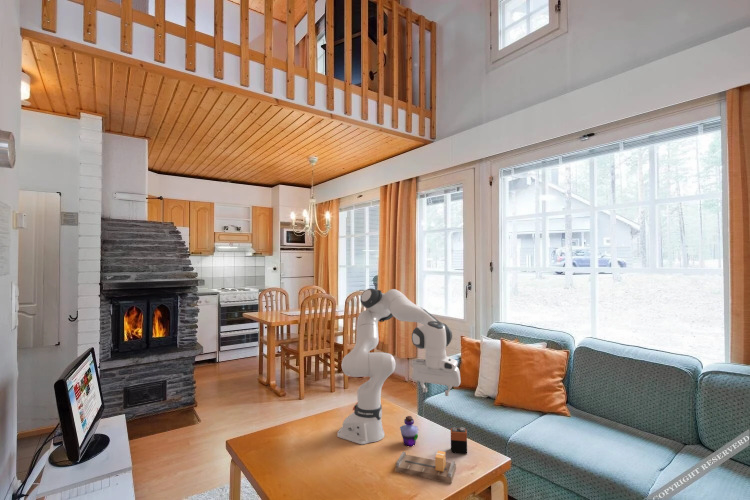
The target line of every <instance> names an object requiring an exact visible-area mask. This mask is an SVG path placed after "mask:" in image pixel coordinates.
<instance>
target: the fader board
mask: <svg viewBox="0 0 750 500" xmlns="http://www.w3.org/2000/svg"><path fill="white" fill-rule="evenodd" d="M406 453H407V452H406V451H402V453H401V455H400V456H399V458H398V459H397V460H396V462H395V464H396V465H395V468H394V469H395V470H394V471H395V472H396V473H400V474H405V475H410V476H414V477H418V478H419V477H420V478H424V479H428V480H433V481H438V482H442V483H448V484H452V483H453V479H454V477H455V475H456V471H457V464H456V462H455V461H454V460H452V461H451V462H447V461H446V466H445V468H444V471H443V472H442V471H437V470H436V468H435V459H431V458H427V457H426V458H425V457H420V456H416V455H411V454H406Z"/></svg>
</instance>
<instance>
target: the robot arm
mask: <svg viewBox="0 0 750 500" xmlns="http://www.w3.org/2000/svg"><path fill="white" fill-rule="evenodd" d="M359 300H360V303H361V305H362V306H363V307H364V308H365V310H362V311H361V312H360V313H359V314H358V316H357V317H358V318H357V322H356V339H355V345H354V346H353V348H352V349H351V350H350V351H349V352H348V354H347V353H346V354H345V355H344V357H342V361H341V369H342V370H341V371H342V373H343V374H344V375H345V376H349V377H353V378H362V377H365V378H366V377H369V379H368V380H367V381H365V382H363V383H362V384H360V386H358V389H357V399H356V400H357V401H356V403H355V404H354V406H353V407H352V411H353V412H352V413H351V414H349V415H347V417H346V418H345V419H344V420H343V423H342V426H341V427H340V428H339V430H338V431H337V432H336V433H337V434H336V435H337V438H340V439H343V440H346V441H349V442H353V443H356V444H359V445H362V446H363V445H366V444H369V443H375V442H378V441H381V440H382V439H384V438H385V431H384V427H383V423H382V422H383V421H382V416H383V410H382V406H383V405H382V403H381V401H382V400H381V399H382V388H383V386H384V383H385V382H386V380H387V379H388V378H389V377H390V376H391V375H392V374H393V373H394V372H395V370H396V360H395V357H394V356H393V355H392V354H391V353H388V352H381V351H380V352H377V351H376V352H375V351H374V352H371V351H372V350H374V349H376V348H377V346H378V344H379V341H380V339H379V326H378V324H379V322H380V323H383V322H386V321H389V320H390V319H392V318H393V317H394V318H395V319H396V320H398V321H400V322H410V323H411V322H412V323H418V324H421V326H417V327H415V328H414V329H413V331H412V333H411V342H412V344H413V345H414V347H416V348H417V349H422V350H425V352H424V353H425V355H424V356H425V357H424V358H425V359H422V358H415V359H412V361H411V365H412V375H411V379H412V380H413V382H419V383H420V384H419V385H420V386H421V388H422V393H427V392H428V386H427V387H426V385H425V383H428V384H435V385H439V386H441V385H442V386H447V389H446V390H445V391H444V396H446V397H450V390H451V389H452V387H456V388H458V387H459V386H460V385H461V383H462V381H461V379H462V378H461V372H460V369H459V367H458V364H459V363H458V359H457V360H456V359H454V358H452V357H450V356H447V351H446V350H447V349H446V347H448V346H449V345H450V343H451V341H452V340H453V332H452V330H451V328H450V327H449V326H448V325H447V324H446V323H443V322H441V321H439V319H437V318H436V317H434V316H433V315H432V314H431V313H430V312H428V311H427V310H426V309H425V308H423V307H421V306H419V305H417V304H415V303H414V302H413V301H411V300H410V299H409V298H408V297H407V295H405V294H404V293H402V292H401V291H400V290H397V289H395V288H392V289H389V290H387V291H386V292H382V290H381V289H376V288H371V287H370V288H367V289H365V290H364V291H363V293H362V294H361V295H360V299H359Z"/></svg>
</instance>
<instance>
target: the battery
mask: <svg viewBox="0 0 750 500" xmlns="http://www.w3.org/2000/svg"><path fill="white" fill-rule="evenodd" d="M467 433H468V432H467V429H466V428H465V427H464V426H463V427H455V426H454V427H450V453H451V454H458V455H467V454H468V434H467Z"/></svg>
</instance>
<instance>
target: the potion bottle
mask: <svg viewBox="0 0 750 500" xmlns="http://www.w3.org/2000/svg"><path fill="white" fill-rule="evenodd" d="M403 421H404V422H403V423H404V424H403V425H401V426H400V427H399V430H400V434H401V437H402V441H403V446H404V447H407V446H409V447H408V448H412V446H413V445H414V446H416V445H415V444H416V443H417V440H418V437H419V435H418V434H419V427H418V426H417V425H415V420H414V419H413V416H412V415H407V416H405V419H404V420H403ZM414 446H413V447H414Z"/></svg>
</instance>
